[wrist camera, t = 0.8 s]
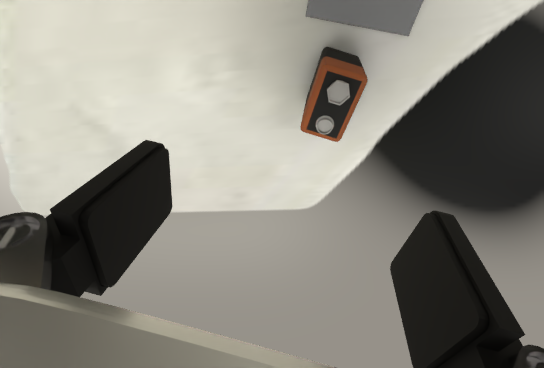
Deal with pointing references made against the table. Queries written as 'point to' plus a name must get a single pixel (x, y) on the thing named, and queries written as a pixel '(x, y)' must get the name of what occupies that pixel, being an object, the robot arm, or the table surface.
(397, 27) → the mat
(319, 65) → the battery
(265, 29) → the table surface
